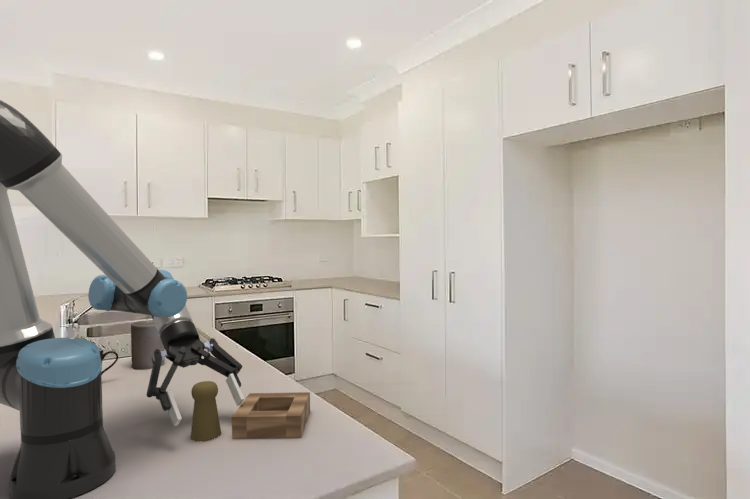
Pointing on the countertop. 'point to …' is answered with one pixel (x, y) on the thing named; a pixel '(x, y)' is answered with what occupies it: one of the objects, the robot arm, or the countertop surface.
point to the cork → (205, 412)
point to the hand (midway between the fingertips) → (211, 412)
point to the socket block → (271, 415)
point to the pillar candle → (144, 344)
